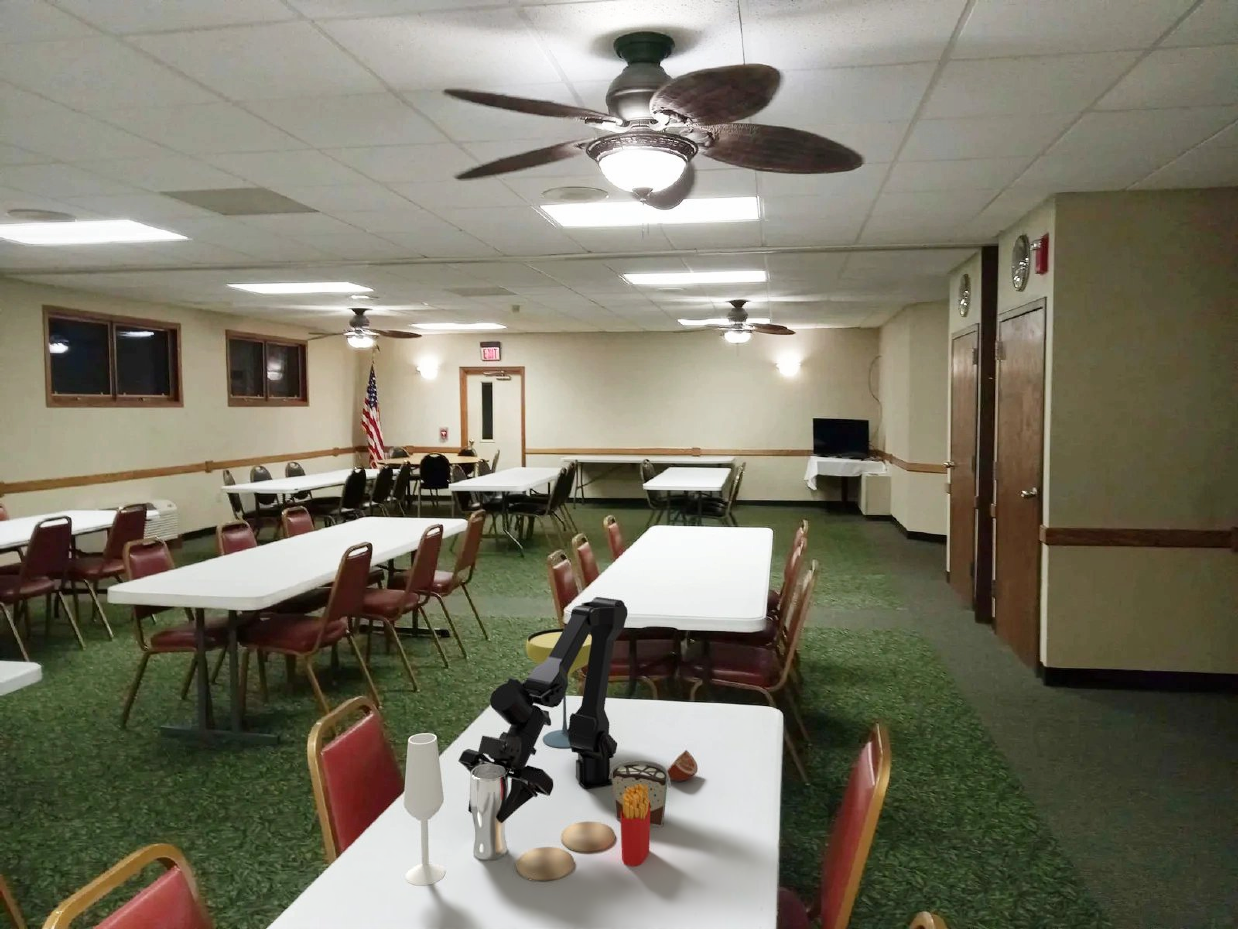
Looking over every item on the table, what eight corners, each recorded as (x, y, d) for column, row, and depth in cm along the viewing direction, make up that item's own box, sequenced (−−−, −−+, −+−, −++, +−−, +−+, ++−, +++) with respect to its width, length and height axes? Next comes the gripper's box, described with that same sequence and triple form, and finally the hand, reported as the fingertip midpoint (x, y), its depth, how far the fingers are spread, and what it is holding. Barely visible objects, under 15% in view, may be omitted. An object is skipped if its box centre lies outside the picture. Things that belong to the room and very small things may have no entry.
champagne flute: (408, 889, 139) (405, 749, 137) (402, 869, 145) (399, 734, 143) (449, 879, 141) (446, 742, 140) (441, 860, 147) (438, 728, 146)
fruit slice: (673, 768, 185) (673, 746, 184) (702, 773, 182) (702, 751, 182) (660, 784, 177) (660, 761, 177) (690, 789, 174) (690, 766, 174)
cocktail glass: (560, 719, 214) (559, 624, 212) (616, 735, 203) (616, 635, 202) (511, 743, 199) (510, 640, 197) (570, 761, 189) (569, 653, 187)
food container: (678, 813, 164) (678, 764, 163) (669, 828, 158) (669, 777, 158) (619, 804, 168) (618, 756, 167) (609, 818, 162) (608, 768, 162)
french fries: (637, 870, 144) (637, 803, 143) (616, 865, 145) (616, 799, 145) (654, 846, 152) (654, 782, 151) (634, 842, 153) (634, 779, 152)
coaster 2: (603, 820, 161) (603, 817, 161) (622, 845, 152) (622, 842, 152) (554, 830, 158) (554, 827, 158) (570, 856, 148) (570, 853, 148)
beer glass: (502, 864, 146) (500, 781, 145) (464, 860, 147) (463, 778, 146) (514, 844, 153) (513, 764, 152) (479, 840, 154) (477, 761, 153)
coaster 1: (564, 846, 152) (563, 842, 152) (581, 874, 143) (581, 871, 143) (510, 856, 148) (510, 853, 148) (524, 886, 139) (524, 883, 139)
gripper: (464, 707, 157) (423, 786, 148) (543, 726, 147) (504, 812, 138) (492, 733, 164) (454, 811, 155) (569, 753, 154) (533, 837, 146)
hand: (484, 817), depth 148 cm, fingers closed on beer glass, 7 cm apart
